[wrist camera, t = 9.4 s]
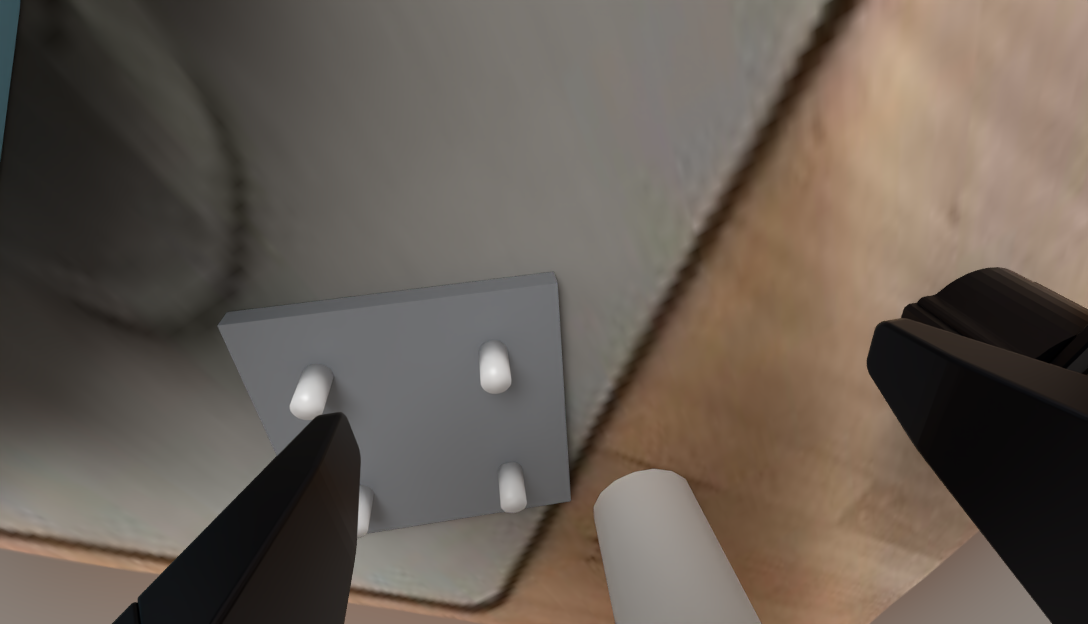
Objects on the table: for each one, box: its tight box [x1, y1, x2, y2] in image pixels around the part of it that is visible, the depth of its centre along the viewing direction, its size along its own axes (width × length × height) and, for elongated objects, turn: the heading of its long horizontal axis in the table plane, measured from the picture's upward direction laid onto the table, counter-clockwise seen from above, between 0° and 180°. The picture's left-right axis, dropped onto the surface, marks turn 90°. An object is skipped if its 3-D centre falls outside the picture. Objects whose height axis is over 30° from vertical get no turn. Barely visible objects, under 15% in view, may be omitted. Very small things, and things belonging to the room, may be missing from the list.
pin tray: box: [218, 272, 571, 538], centre depth 24 cm, size 13×13×3 cm
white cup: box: [594, 469, 761, 624], centre depth 27 cm, size 7×7×10 cm
